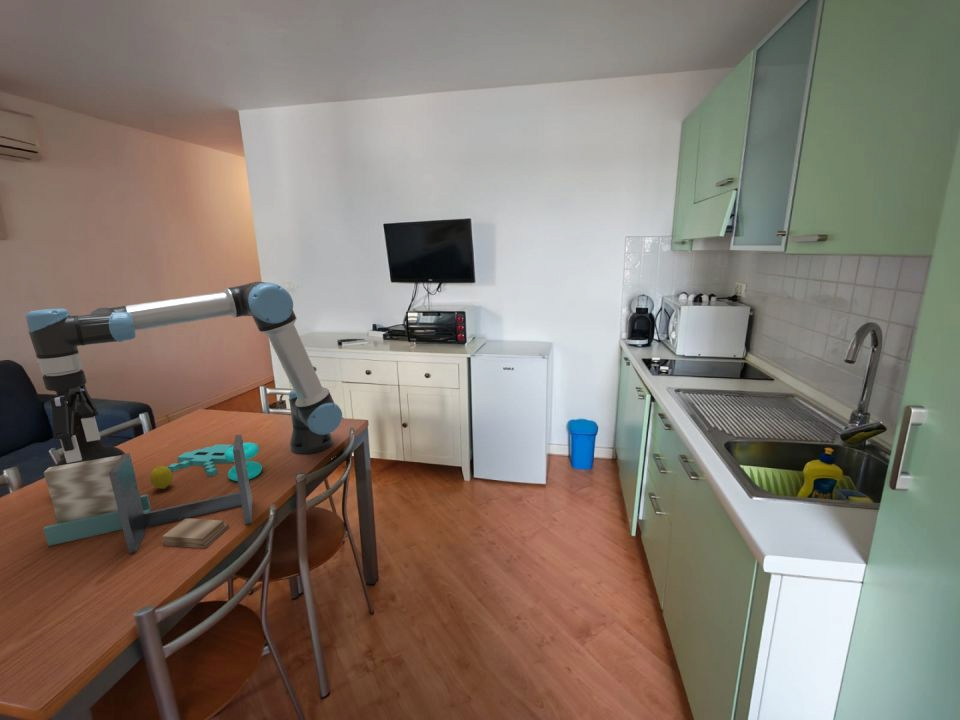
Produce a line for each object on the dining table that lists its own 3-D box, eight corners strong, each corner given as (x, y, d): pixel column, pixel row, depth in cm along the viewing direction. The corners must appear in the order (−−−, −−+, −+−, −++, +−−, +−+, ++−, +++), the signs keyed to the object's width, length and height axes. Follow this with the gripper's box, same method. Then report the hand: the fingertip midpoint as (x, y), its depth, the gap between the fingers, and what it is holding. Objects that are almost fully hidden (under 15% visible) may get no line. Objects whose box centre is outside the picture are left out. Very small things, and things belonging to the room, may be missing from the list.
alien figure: (213, 477, 143) (250, 450, 163) (212, 471, 143) (249, 445, 162) (158, 475, 145) (200, 449, 164) (156, 469, 145) (199, 443, 164)
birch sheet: (139, 512, 122) (126, 454, 117) (137, 518, 119) (123, 458, 115) (66, 528, 115) (48, 467, 111) (61, 534, 112) (43, 472, 108)
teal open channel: (151, 509, 125) (147, 494, 124) (144, 524, 118) (140, 508, 117) (61, 528, 116) (56, 512, 115) (48, 546, 110) (43, 528, 108)
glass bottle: (42, 505, 127) (16, 417, 121) (81, 476, 144) (60, 397, 138) (112, 497, 131) (91, 411, 125) (142, 469, 148) (125, 392, 141)
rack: (252, 501, 128) (241, 433, 123) (251, 523, 118) (239, 449, 112) (141, 526, 117) (123, 452, 111) (128, 553, 106) (108, 473, 101)
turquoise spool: (251, 438, 148) (263, 446, 141) (255, 464, 151) (267, 474, 144) (219, 448, 141) (230, 457, 134) (224, 475, 143) (235, 486, 137)
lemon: (178, 485, 137) (174, 463, 135) (161, 494, 132) (156, 471, 130) (166, 483, 139) (161, 460, 137) (148, 491, 134) (143, 468, 132)
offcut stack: (229, 529, 116) (227, 519, 115) (206, 550, 108) (204, 539, 107) (188, 526, 118) (186, 516, 117) (163, 546, 109) (160, 536, 109)
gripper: (63, 362, 116) (83, 435, 121) (17, 387, 94) (44, 475, 99) (99, 359, 119) (117, 430, 124) (61, 382, 97) (85, 467, 102)
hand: (84, 450), depth 112 cm, fingers open, 13 cm apart
